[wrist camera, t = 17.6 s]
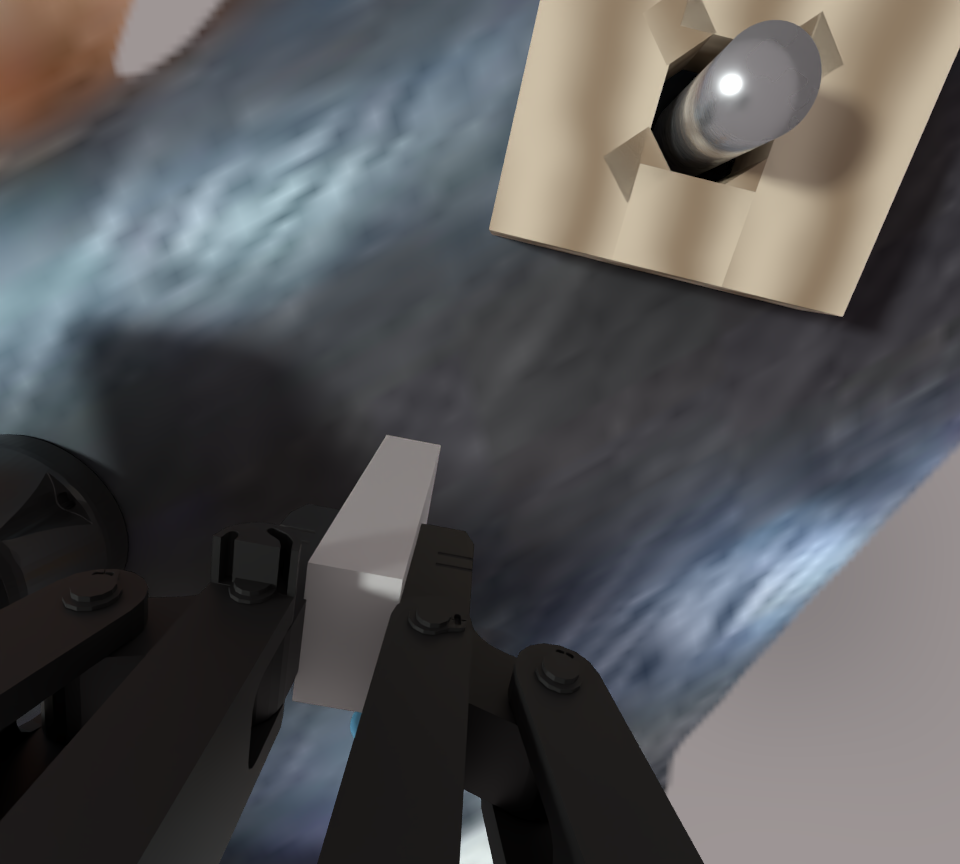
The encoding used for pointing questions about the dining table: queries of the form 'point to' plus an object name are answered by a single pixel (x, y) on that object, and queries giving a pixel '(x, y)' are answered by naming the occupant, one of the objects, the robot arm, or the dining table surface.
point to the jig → (755, 174)
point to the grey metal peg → (741, 98)
